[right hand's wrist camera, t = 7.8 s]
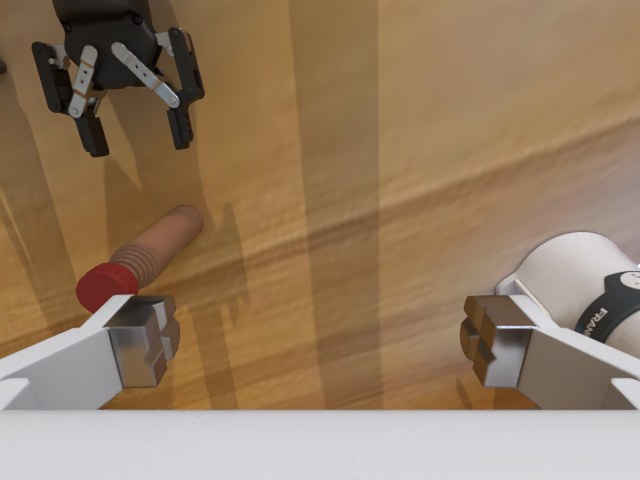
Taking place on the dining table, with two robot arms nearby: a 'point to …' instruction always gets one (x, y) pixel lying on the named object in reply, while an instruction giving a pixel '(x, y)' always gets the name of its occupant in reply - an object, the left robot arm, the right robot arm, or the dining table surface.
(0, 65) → the figurine
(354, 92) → the dining table surface
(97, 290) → the cap
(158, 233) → the bottle
